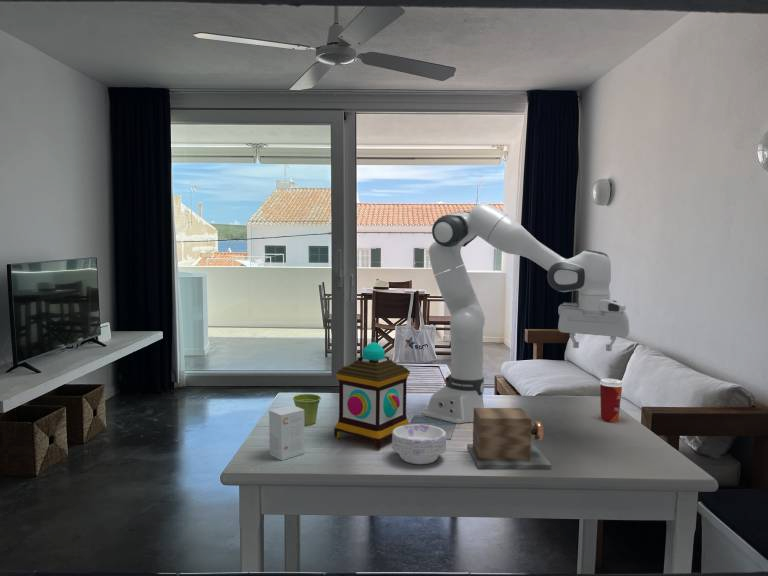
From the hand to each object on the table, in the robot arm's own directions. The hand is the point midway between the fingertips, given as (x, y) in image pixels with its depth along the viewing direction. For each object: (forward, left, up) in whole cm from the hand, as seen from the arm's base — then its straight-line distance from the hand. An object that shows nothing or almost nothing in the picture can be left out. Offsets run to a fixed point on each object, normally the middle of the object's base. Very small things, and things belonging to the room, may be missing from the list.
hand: (592, 349), depth 170 cm
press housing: (-18, -25, -29) cm, 42 cm away
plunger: (-17, -25, -24) cm, 38 cm away
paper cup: (+3, +28, -29) cm, 41 cm away
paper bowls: (-40, -38, -29) cm, 62 cm away
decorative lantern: (-60, -29, -29) cm, 73 cm away
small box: (-74, -54, -29) cm, 96 cm away
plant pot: (-86, -28, -29) cm, 95 cm away
